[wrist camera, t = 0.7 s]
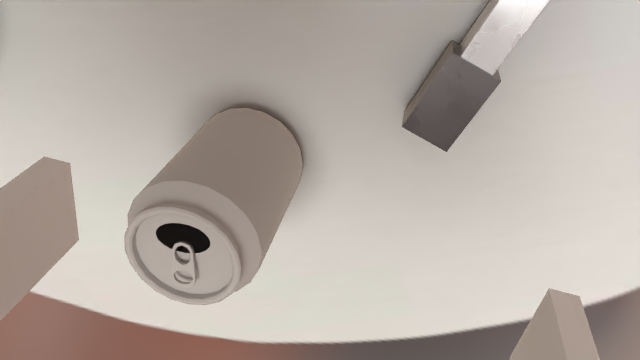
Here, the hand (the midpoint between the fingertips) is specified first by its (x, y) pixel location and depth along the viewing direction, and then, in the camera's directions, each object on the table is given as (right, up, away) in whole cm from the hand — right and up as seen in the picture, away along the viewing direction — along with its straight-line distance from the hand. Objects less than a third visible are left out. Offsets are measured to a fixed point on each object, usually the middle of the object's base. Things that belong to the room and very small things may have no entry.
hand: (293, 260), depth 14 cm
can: (-4, +4, +22) cm, 23 cm away
